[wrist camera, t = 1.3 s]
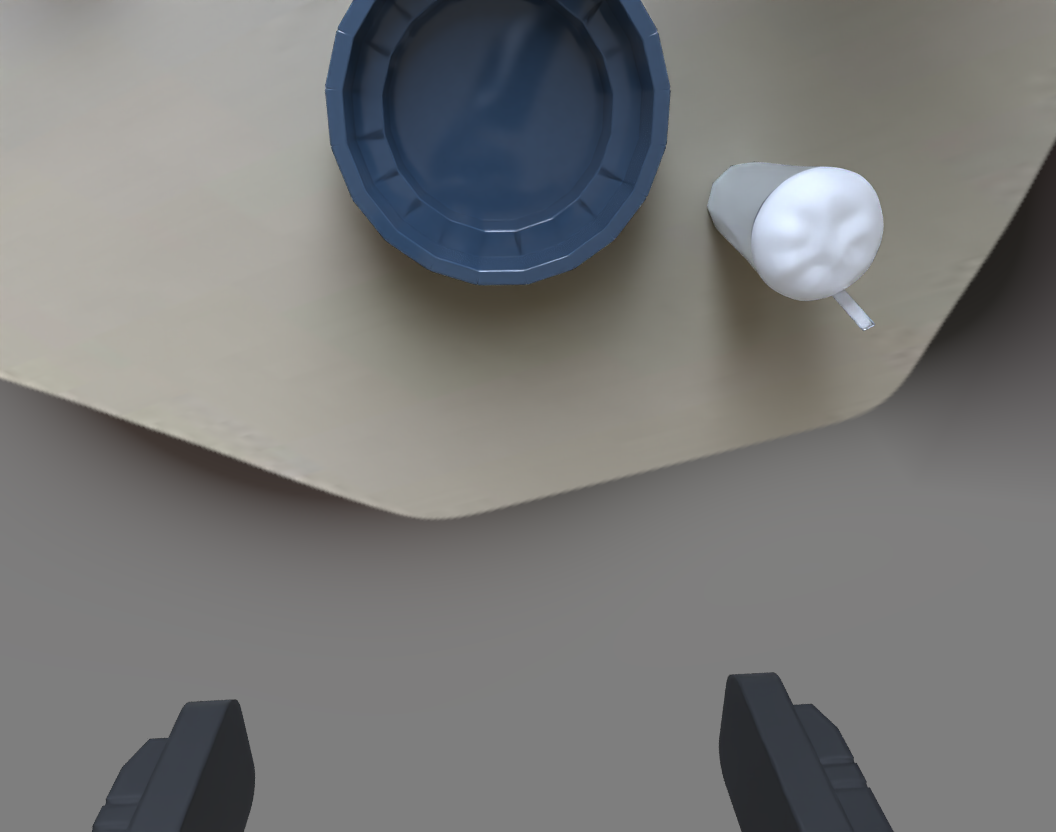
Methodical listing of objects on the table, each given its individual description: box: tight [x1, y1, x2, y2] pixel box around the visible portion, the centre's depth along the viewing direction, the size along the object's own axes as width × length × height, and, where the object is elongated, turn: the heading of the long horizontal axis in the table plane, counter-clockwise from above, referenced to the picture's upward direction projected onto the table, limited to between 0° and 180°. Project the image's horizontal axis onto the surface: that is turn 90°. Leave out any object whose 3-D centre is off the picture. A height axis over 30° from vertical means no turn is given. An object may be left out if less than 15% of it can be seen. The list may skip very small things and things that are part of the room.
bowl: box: [325, 0, 671, 285], centre depth 29 cm, size 12×12×5 cm
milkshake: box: [707, 162, 883, 331], centre depth 29 cm, size 4×5×10 cm
